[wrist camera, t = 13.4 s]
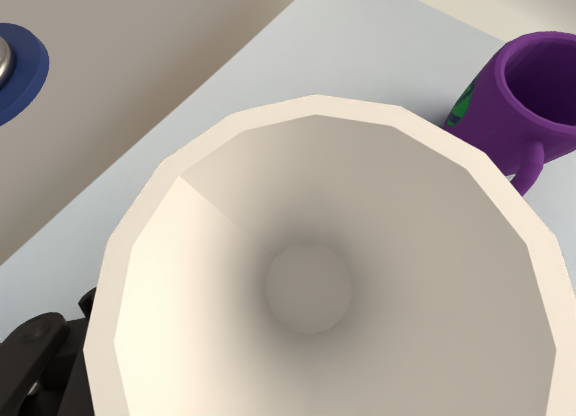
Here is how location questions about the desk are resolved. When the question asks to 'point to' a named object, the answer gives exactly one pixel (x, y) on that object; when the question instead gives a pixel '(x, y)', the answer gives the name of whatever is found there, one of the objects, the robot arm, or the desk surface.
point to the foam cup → (331, 277)
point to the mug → (522, 106)
